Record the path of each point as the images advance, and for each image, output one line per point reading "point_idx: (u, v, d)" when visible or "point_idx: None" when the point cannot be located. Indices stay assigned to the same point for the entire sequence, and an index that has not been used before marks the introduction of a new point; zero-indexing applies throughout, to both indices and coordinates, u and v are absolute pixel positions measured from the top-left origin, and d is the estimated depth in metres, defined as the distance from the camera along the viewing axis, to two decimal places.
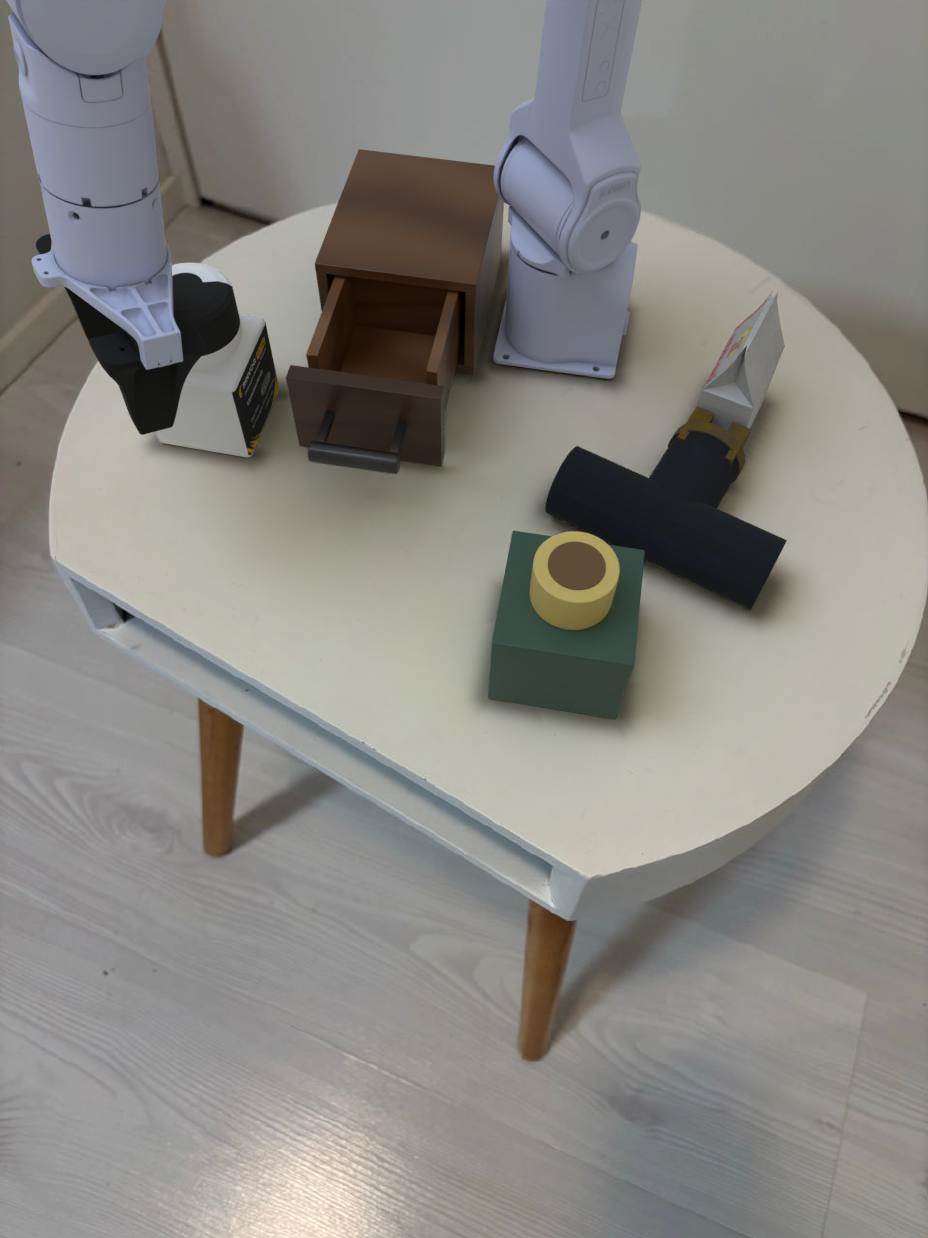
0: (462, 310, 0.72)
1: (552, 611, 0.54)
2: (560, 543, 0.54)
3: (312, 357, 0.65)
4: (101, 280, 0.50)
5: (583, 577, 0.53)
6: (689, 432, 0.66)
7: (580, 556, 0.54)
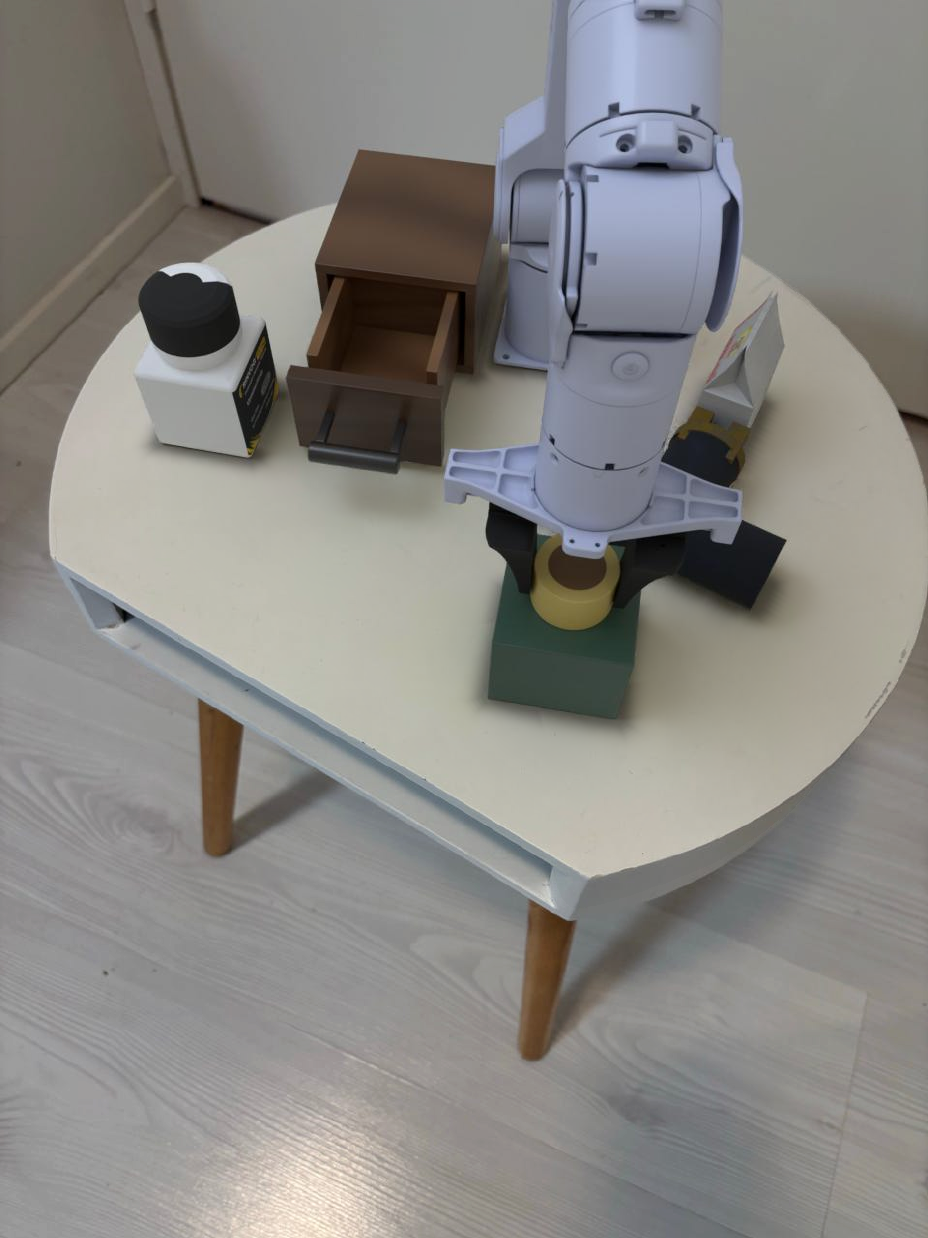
0: (462, 310, 0.72)
1: (553, 611, 0.54)
2: (561, 543, 0.54)
3: (312, 357, 0.65)
4: (643, 509, 0.46)
5: (584, 577, 0.53)
6: (690, 431, 0.65)
7: None
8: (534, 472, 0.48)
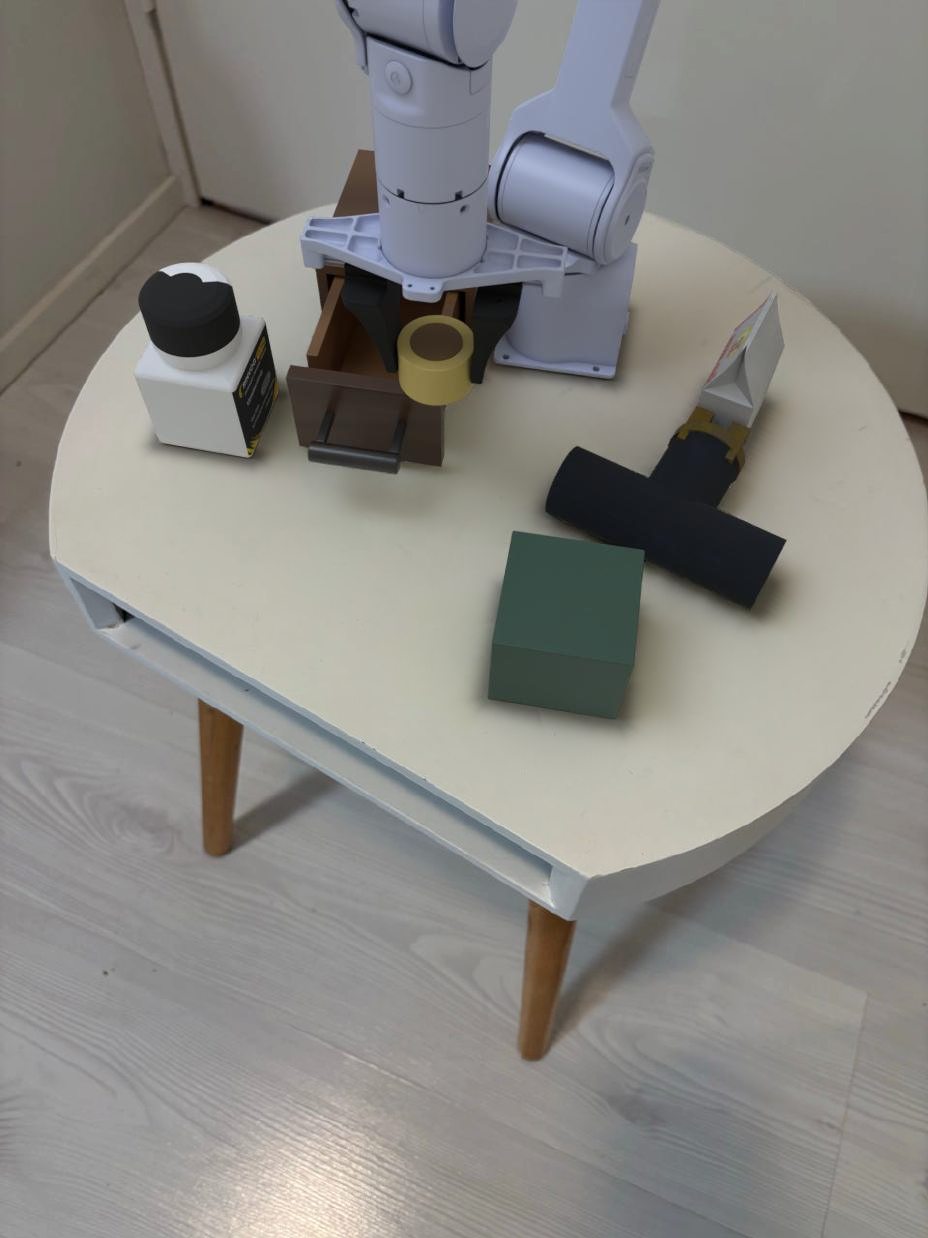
0: (462, 310, 0.72)
1: (415, 384, 0.59)
2: (423, 324, 0.59)
3: (312, 357, 0.65)
4: (475, 259, 0.51)
5: (441, 351, 0.58)
6: (689, 432, 0.65)
7: (440, 334, 0.59)
8: None
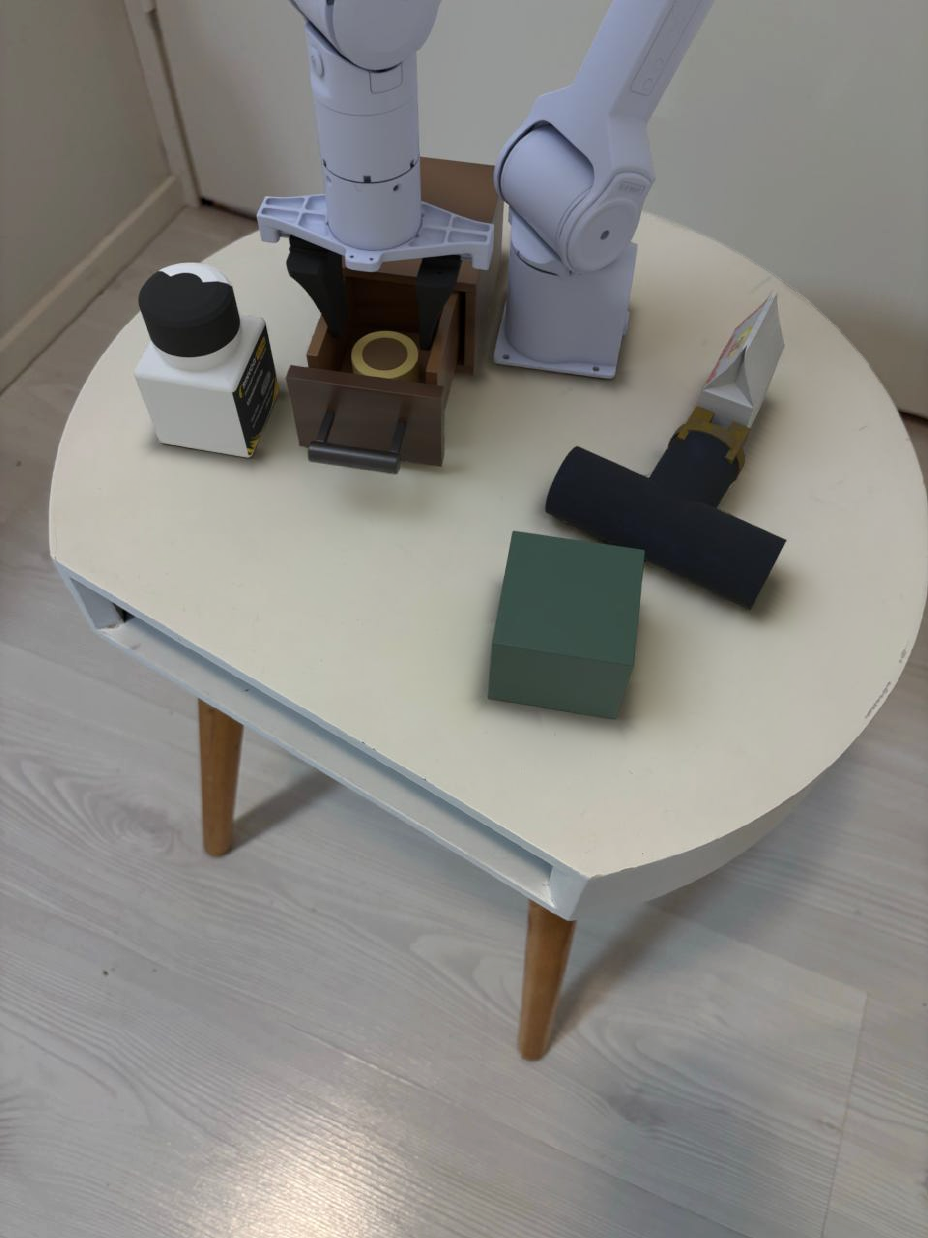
0: (462, 310, 0.72)
1: None
2: (374, 338, 0.69)
3: (312, 357, 0.65)
4: (410, 234, 0.58)
5: (389, 362, 0.68)
6: (689, 432, 0.65)
7: (388, 347, 0.69)
8: None
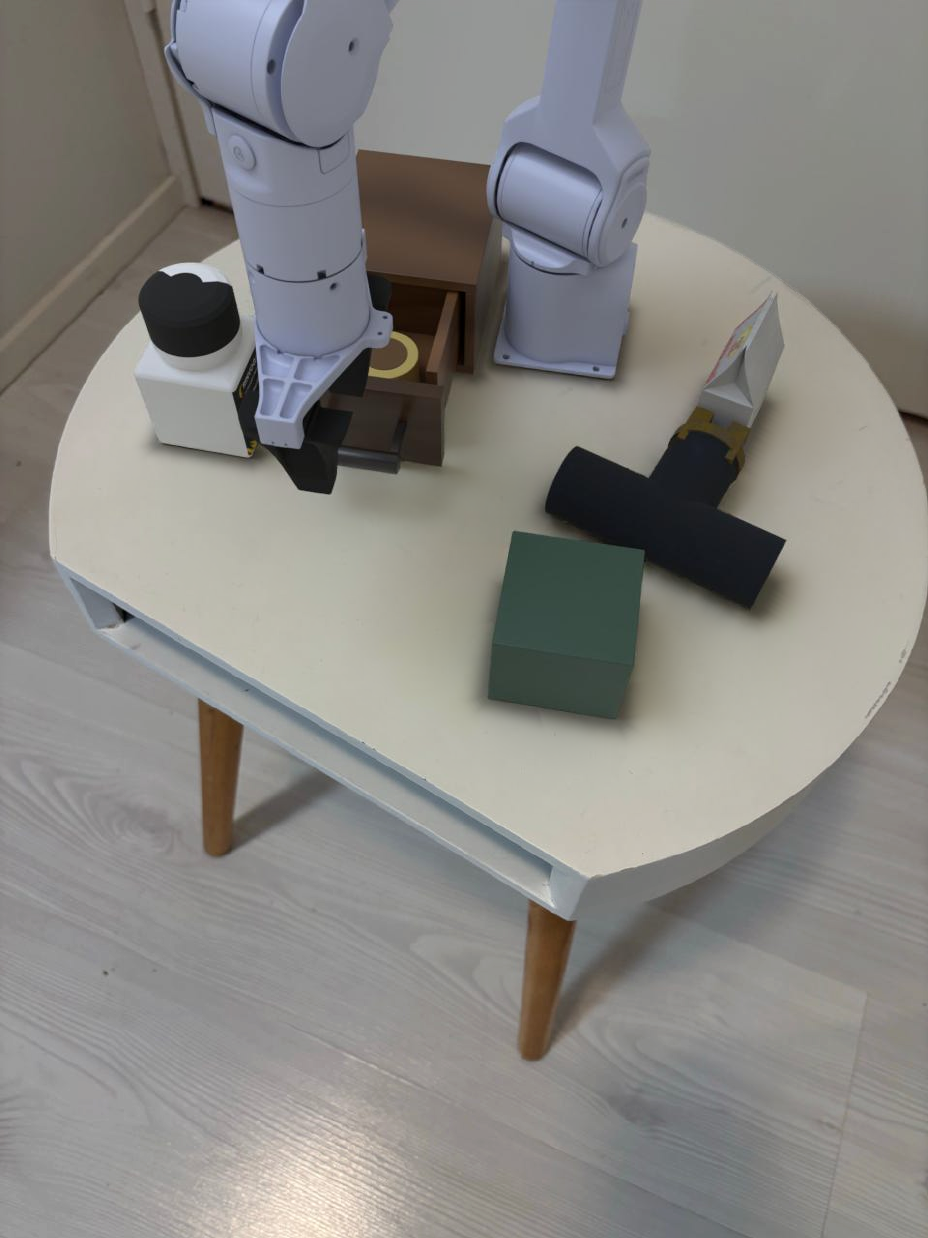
0: (462, 310, 0.72)
1: None
2: None
3: None
4: None
5: (389, 361, 0.68)
6: (689, 431, 0.65)
7: (388, 347, 0.69)
8: (294, 355, 0.48)
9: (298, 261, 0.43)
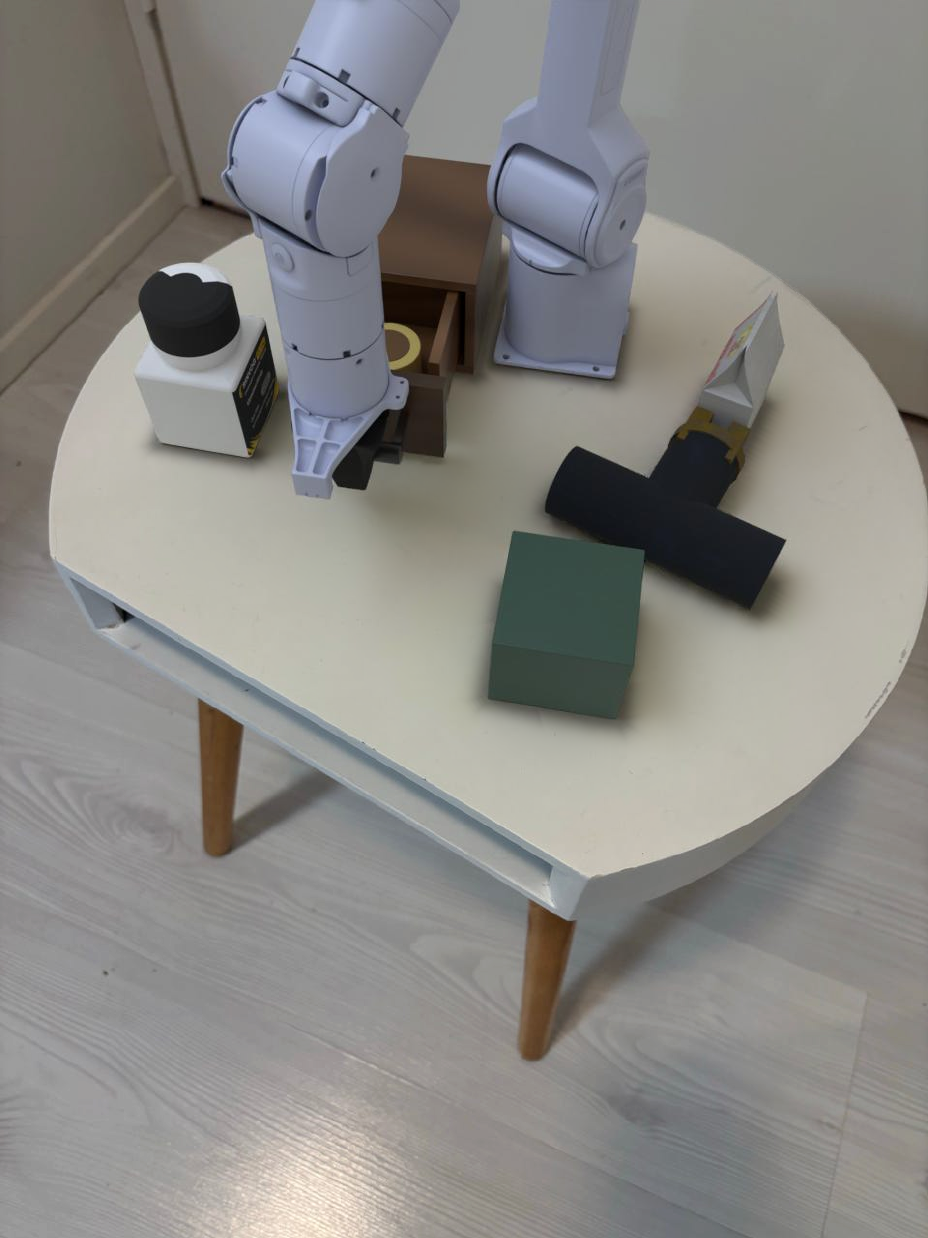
0: (464, 302, 0.72)
1: None
2: None
3: None
4: None
5: (391, 353, 0.69)
6: (689, 431, 0.65)
7: (391, 339, 0.69)
8: (324, 417, 0.55)
9: (327, 343, 0.50)
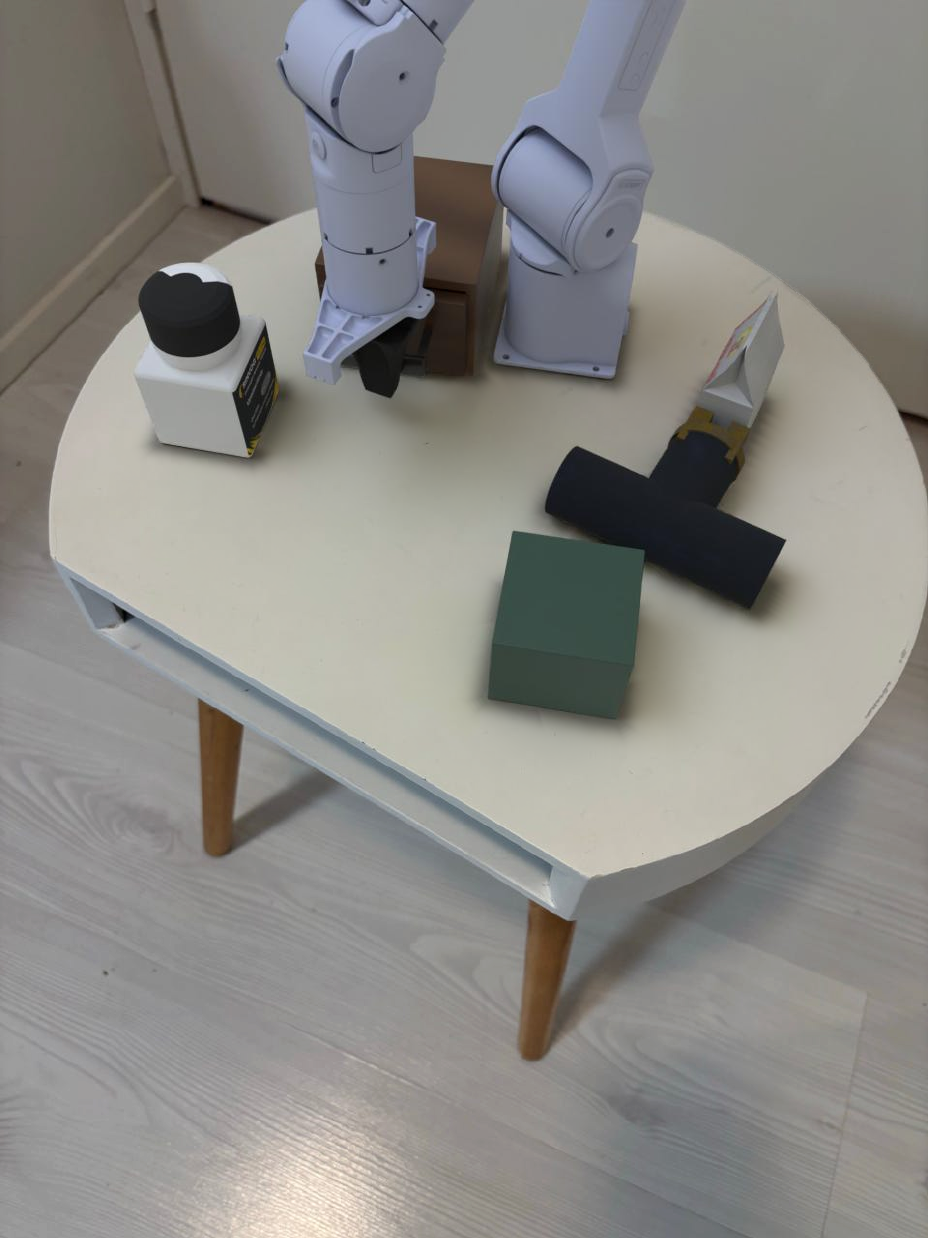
0: None
1: None
2: None
3: None
4: None
5: None
6: (689, 431, 0.65)
7: None
8: (348, 311, 0.60)
9: (351, 236, 0.55)
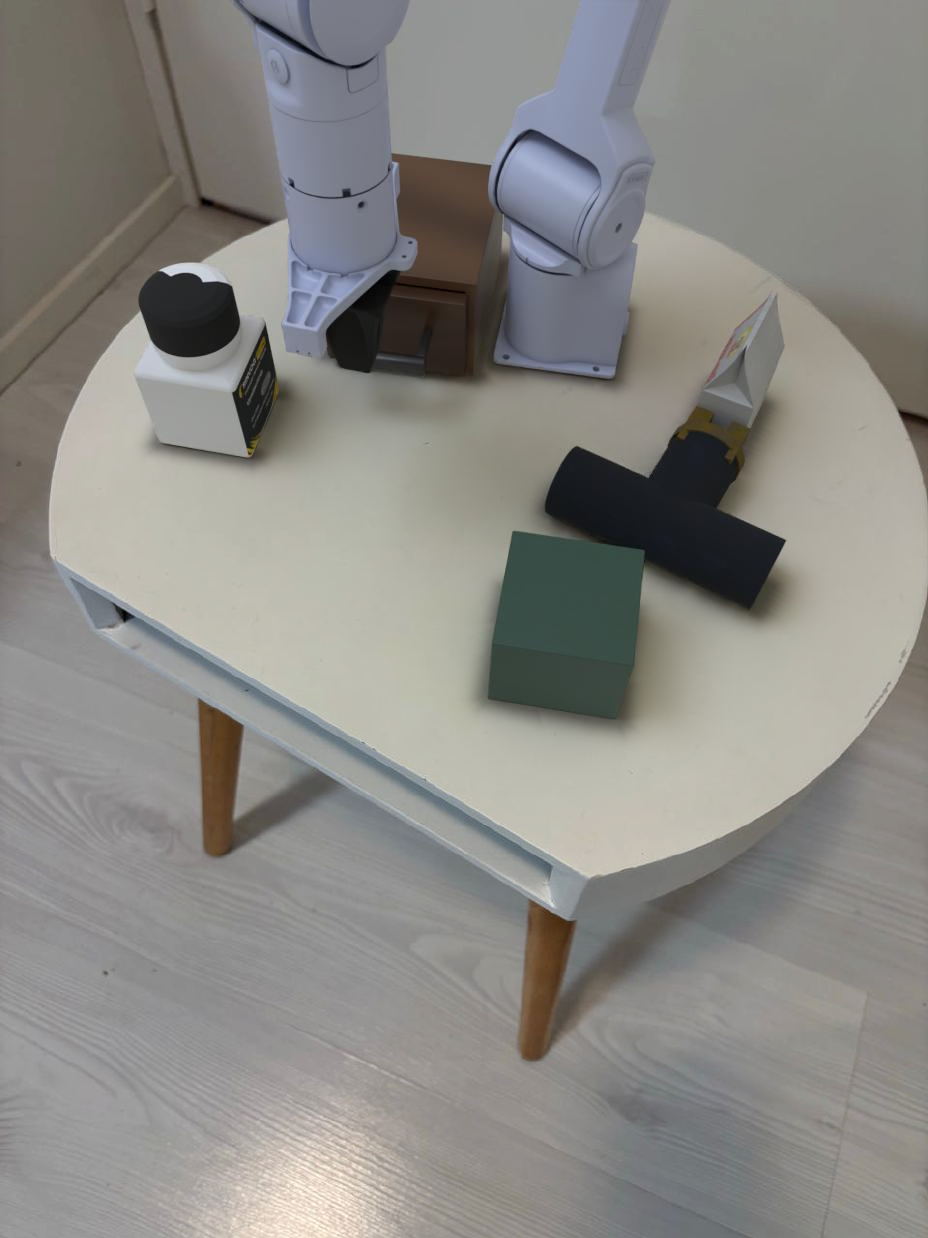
0: None
1: None
2: None
3: None
4: None
5: None
6: (689, 431, 0.65)
7: None
8: (323, 271, 0.51)
9: (325, 177, 0.46)
